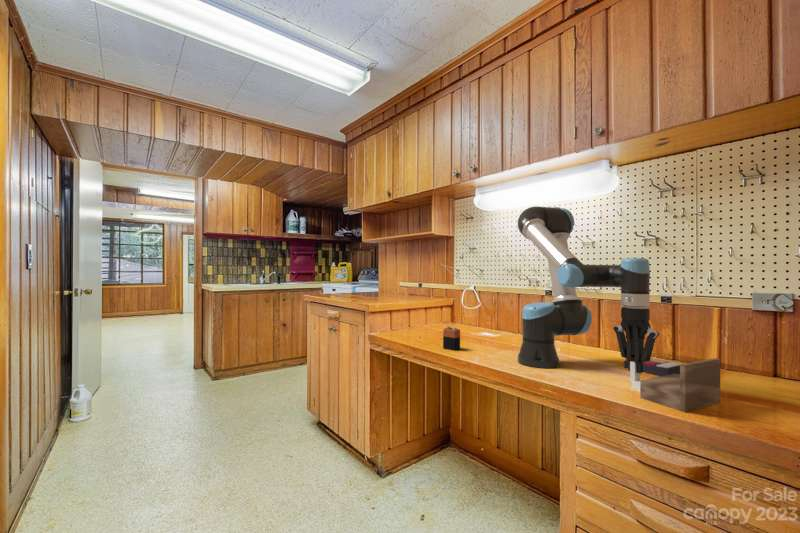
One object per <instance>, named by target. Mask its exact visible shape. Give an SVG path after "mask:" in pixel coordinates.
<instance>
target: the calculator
mask: <svg viewBox="0 0 800 533" xmlns="http://www.w3.org/2000/svg"><path fill="white" fill-rule="evenodd" d="M680 364H682V363H680V362H674V361H669V360H666V359H665V360H664V359H660V358H659V359H658V358H652V357H651V358H650V361H647V362H643V372H642V373H644V372H645V373H644V374H650V375H655V376H656V375H657V376H656V377H660V376H665V375H670V374H679V375H680ZM623 366H624V369H627V368H628V360H627V359H626V358H625V360H624V362H623Z"/></svg>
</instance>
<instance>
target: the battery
mask: <svg viewBox="0 0 800 533" xmlns="http://www.w3.org/2000/svg"><path fill="white" fill-rule="evenodd" d="M442 330H443V331H442V334H443V335H442V347H443V349H444V350H449V349H450V351H454V350H455V351H458V349H459V350H460V349H461V329H460V328H457V327H452V326H447V325H446V328H443V329H442Z"/></svg>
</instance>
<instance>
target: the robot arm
mask: <svg viewBox="0 0 800 533" xmlns="http://www.w3.org/2000/svg"><path fill="white" fill-rule="evenodd" d="M574 226H575V218H574V216H573V213H572V212H571V211H570V209H567V208H564V207H563V208H562V207H558V206H557V207H556V206H555V207H554V206H553V207H550V206H549V207H548V206H537V205H536V206H531V207H528V208H526V209H525V210H523V211H522V212H521V213H520V214H519V217H518V219H517V228H518V230H519V233H520V234H521V235H522V236H523V237H524V239H527V240H530V242H532V244H534V246H535V247H536V248H537V249H538V250H539V251H540V252H541V254H542V255H543V256H544V257H545V258H546V259H547V264H548V271H549V276H550V277H549V278H550V283H551V289H552V290H551V291H552V294H553V299H552V300H551V302H550V301H549V302H547V301H546V302H545V301H544V302H543V301H542V302H540V301H539V302H531V303H528V304H525V305H523V306H524V307H523V309H522V315H521V318H522V343H521V345H520V346H521V347H520V349H519V353H518V355H517V362H518V363H520V364H521V365H524V366H528V367H532V368H533V367H534V368H541V369H543V368H544V369H550V368H551V369H553V368H556V367H559V366H560V358H559V356H558V352H557V349H556V346H555V336H577V335H584V334H585V333H586V332H588V331H589V329H590V328H591V326H592V321H593V315H592V312H591V310H590V309H589V308H588V306H586V305H584V304H583V300H582V298H580V297H579V296H578V295H577V290H576V288H620V300H621V301H620V306H622V307H621V308H620V318H621V321H620V324H619V325H616V326H613V331H614V333H615V334H616V338H617V342H618V343H617V344H618V347H619V350H620V351H619V352H620V356H621V358H622V359H623V358H624V359H625V360H626V359H627V360H628V369H627V371H629V382H630V383H631V382H632V381H638V380H641V374H642V373H644V372H643V362H647V361H650V358H652V355H653V354H652V353H653V351H654V346H655V343H656V339H657V338H658V337H659V336H660V333H659V332H658V331H654V329H652V327H651V325H650V320H651V318H650V316H651V313H650V312H651V310H650V309H649V307H650V306H651V304H650V303H651V302H650V301H651V300H650V298H651V296H650V295H651V294H650V278H651V277H650V275H651V270H650V268H651V267H650V261H649V259H647V258H644V257H630V258H629V257H628V258H626V257H624V258H622V259H621V260H620V264H584V263H583V262H582V261H580V260H579V259H578V257H576V255H574V254H573V253H572V251H570V249H569V244H568V239H569V238H570V237H571V233H572V232H573V231H574ZM645 339H646V340H645Z"/></svg>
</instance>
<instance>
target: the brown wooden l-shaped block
mask: <svg viewBox="0 0 800 533" xmlns="http://www.w3.org/2000/svg"><path fill="white" fill-rule="evenodd" d="M644 379H645V380H643V379H640V391H639V396H640V399H643V400H646V401H650V402H652V403H656V404H657V405H661V406H665V407H668V408H671V409H674V410H677V411H680V412H683V413H687V412H690V411H691V410H692V411H695V410H698V408H699V409H703V408H705V406H706V407H709V406H711V405H712V404H713V405H716V404H719V403H721V359H720V358H715V357H714V358H709V359H704V360H703V359H702V360H697V361H692V362H687V363H681V364H680V375H679V374H670V375H665V376H655V377H650V378H644ZM694 409H695V410H694Z"/></svg>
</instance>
